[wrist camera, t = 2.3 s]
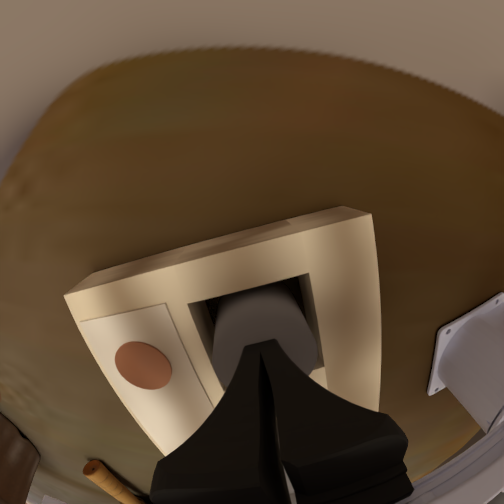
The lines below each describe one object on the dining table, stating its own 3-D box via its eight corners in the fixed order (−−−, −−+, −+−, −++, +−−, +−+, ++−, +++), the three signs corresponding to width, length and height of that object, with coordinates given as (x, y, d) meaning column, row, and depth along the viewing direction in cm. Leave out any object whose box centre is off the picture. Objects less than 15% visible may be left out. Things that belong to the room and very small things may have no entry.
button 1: (287, 265, 14) (309, 302, 10) (302, 333, 16) (322, 382, 11) (207, 286, 15) (197, 330, 10) (229, 352, 16) (229, 405, 11)
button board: (342, 205, 14) (375, 215, 11) (358, 460, 22) (368, 485, 18) (92, 272, 15) (59, 298, 11) (225, 489, 22) (226, 516, 18)
